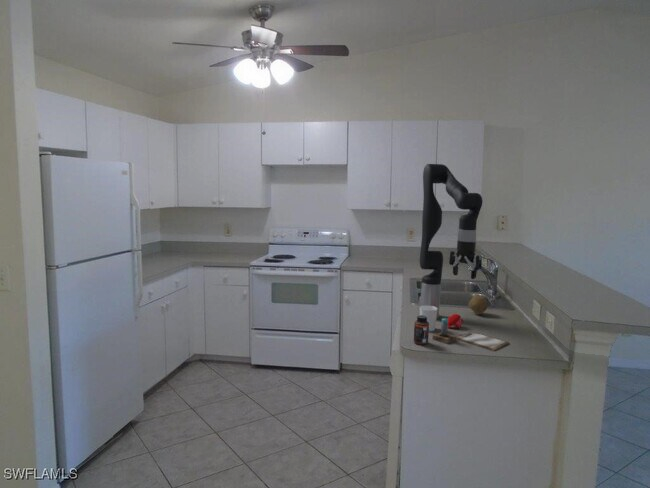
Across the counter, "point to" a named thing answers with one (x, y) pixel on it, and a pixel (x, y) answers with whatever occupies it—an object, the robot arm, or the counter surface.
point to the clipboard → (482, 340)
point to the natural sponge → (478, 304)
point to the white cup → (429, 315)
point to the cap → (454, 320)
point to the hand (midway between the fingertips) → (464, 276)
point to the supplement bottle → (421, 330)
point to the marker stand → (444, 338)
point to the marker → (444, 327)
